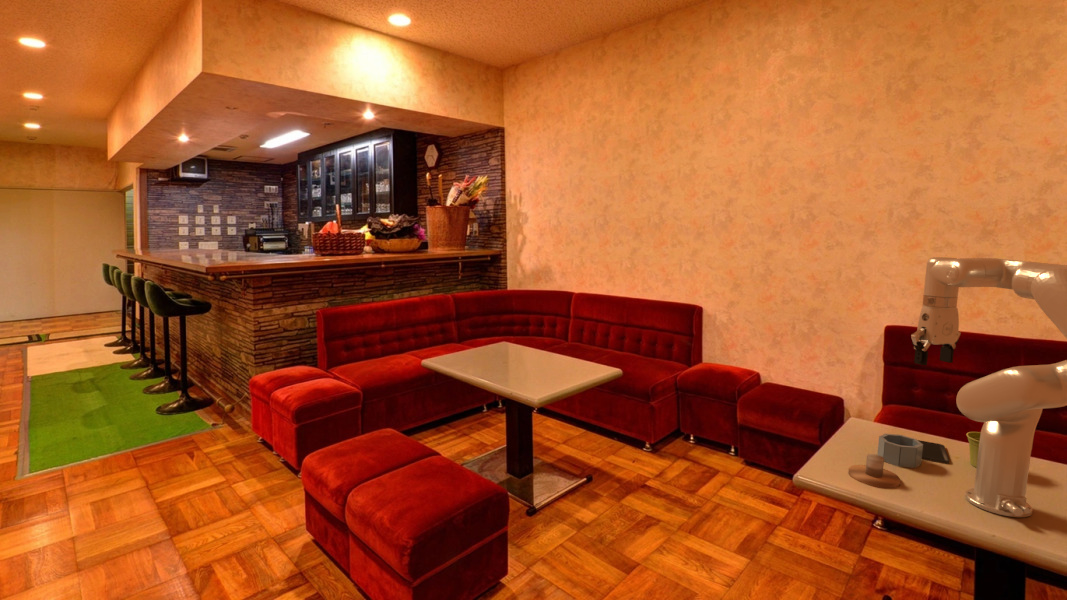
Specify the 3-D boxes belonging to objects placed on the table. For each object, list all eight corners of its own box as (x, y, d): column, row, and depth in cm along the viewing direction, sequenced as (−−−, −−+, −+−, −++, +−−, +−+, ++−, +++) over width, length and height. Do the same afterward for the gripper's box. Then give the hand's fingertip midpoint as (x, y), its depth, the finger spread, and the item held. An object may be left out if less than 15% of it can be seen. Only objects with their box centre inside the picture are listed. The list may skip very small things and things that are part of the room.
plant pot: (1013, 470, 151) (1016, 441, 150) (992, 476, 148) (996, 446, 146) (975, 457, 160) (979, 430, 158) (955, 462, 156) (958, 434, 155)
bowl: (926, 468, 152) (928, 448, 151) (887, 465, 154) (889, 445, 153) (909, 454, 162) (911, 435, 161) (873, 451, 164) (874, 432, 163)
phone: (943, 444, 167) (949, 462, 155) (943, 448, 168) (949, 465, 155) (913, 439, 172) (916, 455, 159) (912, 442, 172) (916, 459, 159)
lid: (908, 491, 140) (910, 468, 139) (857, 486, 142) (859, 464, 141) (888, 470, 151) (890, 450, 151) (841, 467, 154) (843, 446, 153)
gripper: (930, 305, 141) (923, 368, 143) (976, 302, 146) (969, 363, 148) (903, 301, 148) (897, 362, 150) (948, 299, 153) (941, 357, 155)
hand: (933, 362), depth 149 cm, fingers open, 9 cm apart
